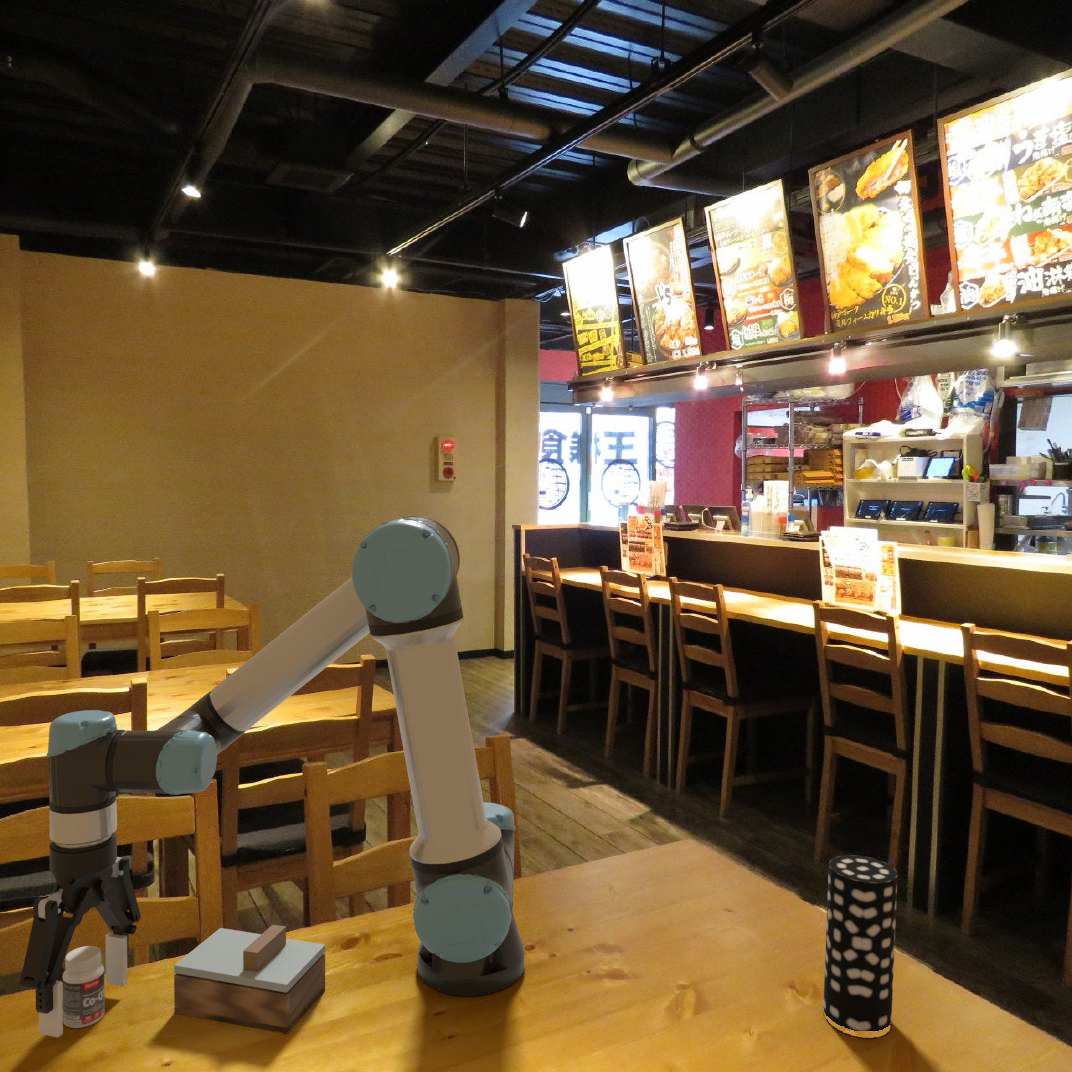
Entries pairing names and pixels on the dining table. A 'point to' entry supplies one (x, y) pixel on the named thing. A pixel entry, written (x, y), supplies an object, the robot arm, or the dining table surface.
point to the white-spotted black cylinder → (860, 942)
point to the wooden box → (249, 1000)
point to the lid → (252, 958)
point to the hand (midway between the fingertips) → (85, 1007)
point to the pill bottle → (83, 987)
